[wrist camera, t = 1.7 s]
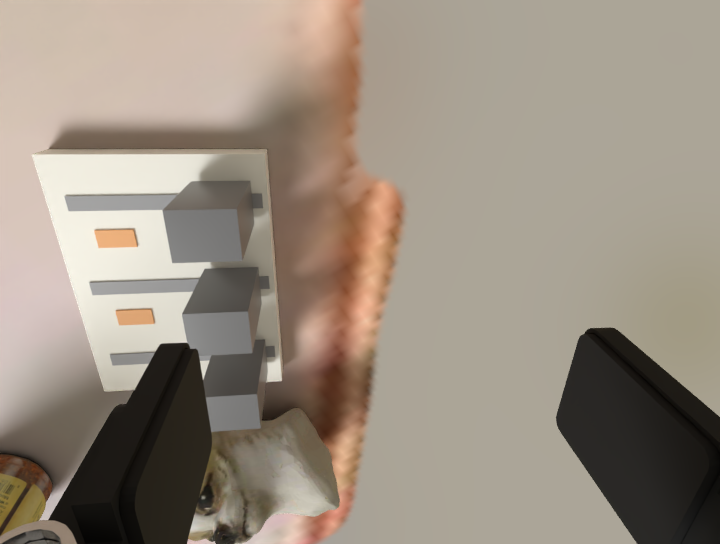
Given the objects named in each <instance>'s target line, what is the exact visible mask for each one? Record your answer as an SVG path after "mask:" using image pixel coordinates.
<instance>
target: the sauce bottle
mask: <svg viewBox="0 0 720 544" xmlns="http://www.w3.org/2000/svg"><path fill="white" fill-rule="evenodd" d="M52 484H53V483H52V482H51V480H50V478H49V476H48V475H47V474H46V473H45V471H44V470H43V469H42V468H41V467H40V466H39V465H38V464H36V463H34V462H32V461H30V460H28V459H25V458H22V457H18V456H15V455H7V454H0V536H2V535H3V534H5V533H6V532H8V531H11V530H13V529H15V528H17V527H19V526H22V525H24V524H28V523H32V522H36V521H39V519H40V518H41V516H42V514H43V512H44V510H45V505H46V501H47V500H48V498H49V496H50V494H51V492H52Z"/></svg>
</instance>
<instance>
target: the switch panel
mask: <svg viewBox="0 0 720 544" xmlns="http://www.w3.org/2000/svg"><path fill="white" fill-rule="evenodd" d="M32 157H33V160H34V163H35V167H36V170H37V173H38V176H39V180H40V183H41V186H42V190H43V193H44V196H45V199H46V203H47V206H48V209H49V212H50V216H51V219H52V222H53V226H54V229H55V232H56V235H57V239H58V242H59V245H60V248H61V252H62V255H63V258H64V262H65V265H66V268H67V271H68V275H69V278H70V281H71V284H72V288H73V291H74V294H75V298H76V301H77V304H78V307H79V311H80V314H81V317H82V320H83V324H84V327H85V330H86V333H87V337H88V340H89V343H90V347H91V350H92V353H93V356H94V360H95V363H96V366H97V369H98V373H99V376H100V379H101V383H102V386H103V389H104V392H110V391H127V390H135V388H136V386H137V384H138V383H139V381H140V379H141V377H142V375H143V374H144V372H145V370H146V368H147V366H148V364H149V363H150V361H151V359H152V357H153V355H154V354H155V352H156V350H157V348H158V347H159V345H160V344H162V343H187V339H186V334H185V329H184V323H183V318H182V313H183V311H184V309H185V307H186V305H187V303H188V301H189V299H190V297H191V295H192V293H193V291H194V289H195V287H196V285H197V283H198V281H199V279H200V277H201V275H202V273H203V271H204V269H209V268H241V267H258V268H259V279H260V290H261V300H262V305H261V310H260V315H259V321H258V326H257V332H256V337H255V340H263V339H265V344H266V355H267V365H268V374H267V382H277V381H282V373H283V361H282V347H281V334H280V320H279V306H278V293H277V279H276V265H275V252H274V238H273V224H272V211H271V197H270V183H269V170H268V156H267V149H47V150H44V151H41V152H38V153H35V154H32ZM191 181H251V192H252V203H253V214H254V227H253V230H252V233H251V236H250V239H249V242H248V246H247V249H246V252H245V255H244V258H243V261H230V262H196V263H172V259H171V254H170V248H169V243H168V238H167V232H166V227H165V222H164V216H163V211H162V210H163V209H164V208H165V207H166V206H167V205H168V204H169V203H170V202H171V201H172V200H173V199H174V198H175V197H176V196H177V195H178V194H179V193H180V192H181V191H182V190H183V189H184V188H185V187H186V186H187V185H188V184H189V183H190V182H191ZM210 358H211V355H209V356H199V359H200V365H201V371H202V377H203V379H204V376H205V373H206V370H207V367H208V364H209V361H210Z"/></svg>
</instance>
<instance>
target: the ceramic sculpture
mask: <svg viewBox="0 0 720 544" xmlns="http://www.w3.org/2000/svg"><path fill="white" fill-rule="evenodd" d="M211 433H212V448H211V453H210V457H209V461H208V465H207V469H206V472H205V476H204V480H203V484H202V488H201V491H200V495H199V499H198V503H197V507H196V510H195V514H194V518H193V522H192V526H191V529H190V533H189V537H188V539H190V540H193V541H198V540H202V539H208V540H209V541H211V542H213V541H215V543H216V544H238V543H244V542H247V541H248V540H250V539H251V538H252V536H253V535H254V534H257V533H258V532H259V531H260V530H261V528H262V527H263V525H264V523H265V521H266V520H267V519H268V518H269V517H271V516H273V515H277V514H287V513H288V514H297V515H307V516H314V517H315V516H318V515H320V514H321V513H323V512H325V511H327V510H335V509H337V508H338V507H339V502H340V499H339V495H338V490H337V482H336V478H335V475H334V472H333V467H332V459H331V455H330V452H329V449H328V448H327V447H326V445H325V444H324V443H323V442H322V440H321V439H320V437H319V435H318V433H317V431H316V429H315V427H314V426H313V425H312V423H311V422H310V420H309V419H308V417H307V415H306V414H305V412H304V411H303V410H301V409H300V408H293V409H291V410H289V411H287V412H286V413H284V414H283V415H281V416H280V417H278V418H276V419H274V420H270V421H262V422H261V428H259V429H245V430H231V431H217V432H211Z"/></svg>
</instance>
